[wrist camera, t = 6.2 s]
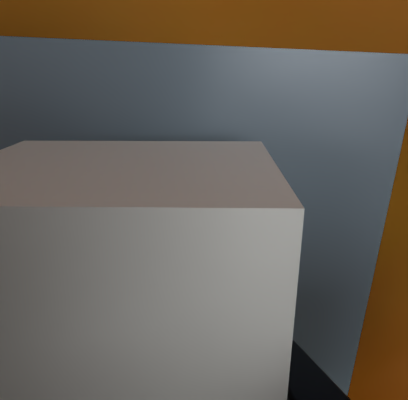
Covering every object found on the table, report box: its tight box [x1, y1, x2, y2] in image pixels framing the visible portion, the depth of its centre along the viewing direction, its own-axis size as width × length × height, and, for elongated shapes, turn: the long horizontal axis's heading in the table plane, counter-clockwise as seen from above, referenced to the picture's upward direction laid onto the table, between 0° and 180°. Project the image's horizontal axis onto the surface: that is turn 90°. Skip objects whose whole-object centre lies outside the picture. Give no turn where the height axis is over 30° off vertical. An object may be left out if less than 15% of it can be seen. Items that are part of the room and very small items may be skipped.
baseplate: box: [0, 36, 408, 395], centre depth 11 cm, size 12×12×2 cm
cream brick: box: [0, 141, 305, 400], centre depth 7 cm, size 5×8×4 cm, turn 0°
